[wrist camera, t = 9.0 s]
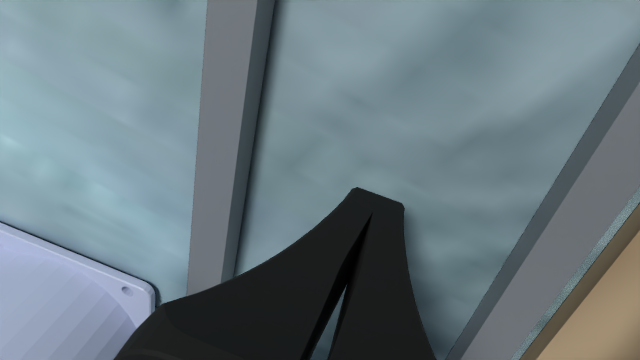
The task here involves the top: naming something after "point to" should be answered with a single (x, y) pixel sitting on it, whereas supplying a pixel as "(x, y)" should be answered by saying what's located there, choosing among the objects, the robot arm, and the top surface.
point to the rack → (599, 307)
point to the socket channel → (524, 261)
